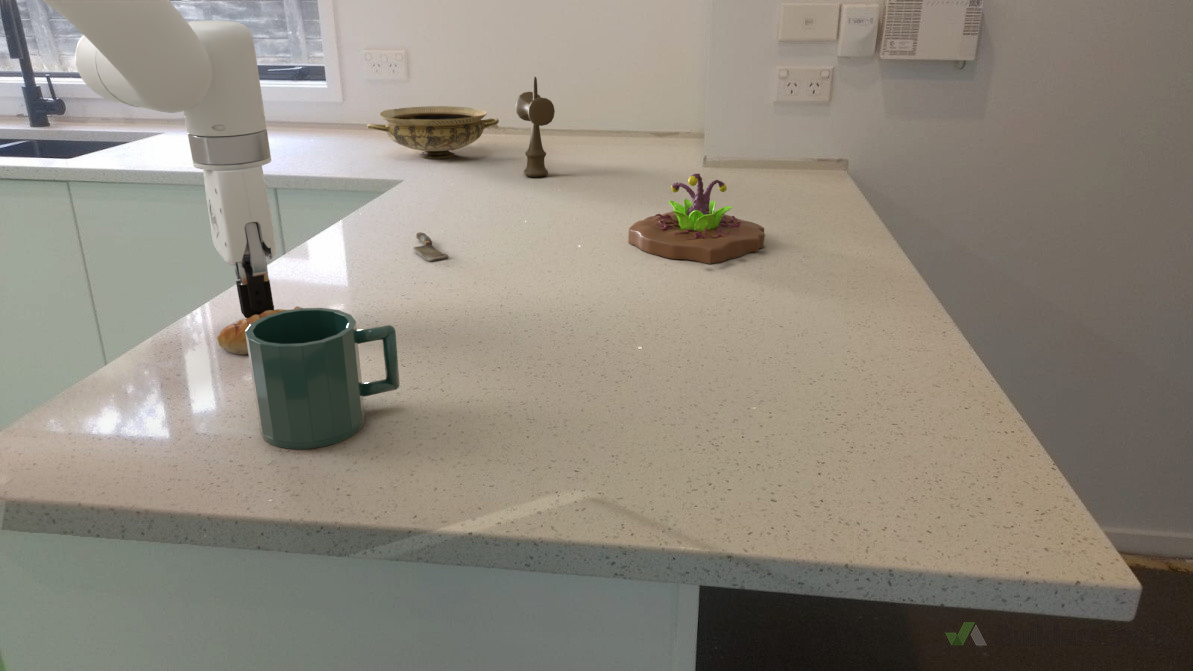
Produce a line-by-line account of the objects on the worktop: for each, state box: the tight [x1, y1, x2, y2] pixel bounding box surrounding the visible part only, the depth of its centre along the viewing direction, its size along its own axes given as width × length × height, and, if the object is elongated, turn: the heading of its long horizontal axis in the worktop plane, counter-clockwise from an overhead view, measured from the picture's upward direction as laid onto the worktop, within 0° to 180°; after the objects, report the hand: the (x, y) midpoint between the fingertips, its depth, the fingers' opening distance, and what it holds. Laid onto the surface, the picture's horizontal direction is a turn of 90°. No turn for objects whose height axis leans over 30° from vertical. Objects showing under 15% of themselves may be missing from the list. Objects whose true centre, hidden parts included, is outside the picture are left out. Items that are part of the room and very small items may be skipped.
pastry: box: [216, 306, 301, 356], centre depth 90 cm, size 9×7×4 cm
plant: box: [627, 173, 766, 265], centre depth 129 cm, size 20×20×11 cm
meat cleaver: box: [412, 231, 449, 262], centre depth 125 cm, size 12×1×5 cm
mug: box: [245, 307, 401, 450], centre depth 74 cm, size 12×9×10 cm
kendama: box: [515, 76, 556, 178], centre depth 172 cm, size 6×10×20 cm, turn 21°
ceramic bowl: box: [366, 105, 499, 159], centre depth 192 cm, size 30×24×10 cm
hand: (258, 313), depth 94 cm, fingers closed
